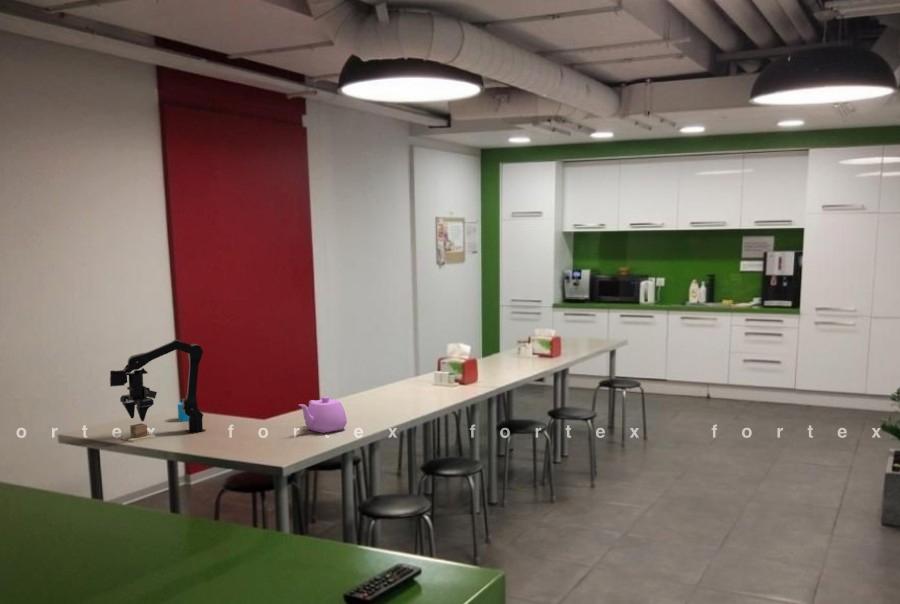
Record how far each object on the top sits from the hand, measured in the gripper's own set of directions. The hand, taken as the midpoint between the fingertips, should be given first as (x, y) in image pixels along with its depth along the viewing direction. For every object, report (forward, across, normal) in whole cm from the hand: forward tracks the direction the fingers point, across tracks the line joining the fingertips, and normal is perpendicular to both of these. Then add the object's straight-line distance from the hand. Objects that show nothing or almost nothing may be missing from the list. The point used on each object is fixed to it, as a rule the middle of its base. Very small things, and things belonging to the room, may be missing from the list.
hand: (137, 419), depth 313 cm
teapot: (+8, -55, -59) cm, 81 cm away
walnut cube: (+8, 0, 0) cm, 8 cm away
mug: (+8, +17, -34) cm, 39 cm away
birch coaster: (+8, 0, 0) cm, 8 cm away
